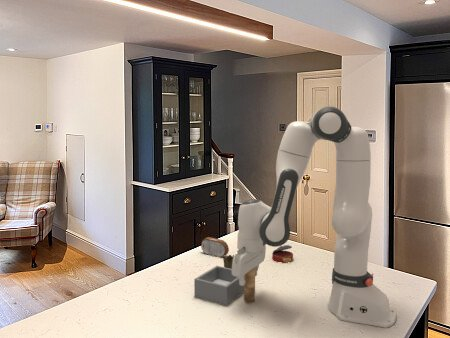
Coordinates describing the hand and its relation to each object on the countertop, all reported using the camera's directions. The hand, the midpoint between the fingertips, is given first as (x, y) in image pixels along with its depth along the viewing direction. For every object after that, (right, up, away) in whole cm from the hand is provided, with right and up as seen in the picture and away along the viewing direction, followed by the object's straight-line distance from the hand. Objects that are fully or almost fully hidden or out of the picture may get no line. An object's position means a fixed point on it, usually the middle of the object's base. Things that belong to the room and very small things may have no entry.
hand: (248, 280), depth 143 cm
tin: (-14, -2, +49) cm, 51 cm away
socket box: (-10, -7, +7) cm, 14 cm away
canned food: (+19, -3, +44) cm, 48 cm away
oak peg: (0, -8, +1) cm, 8 cm away
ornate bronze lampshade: (-6, -5, +24) cm, 25 cm away
